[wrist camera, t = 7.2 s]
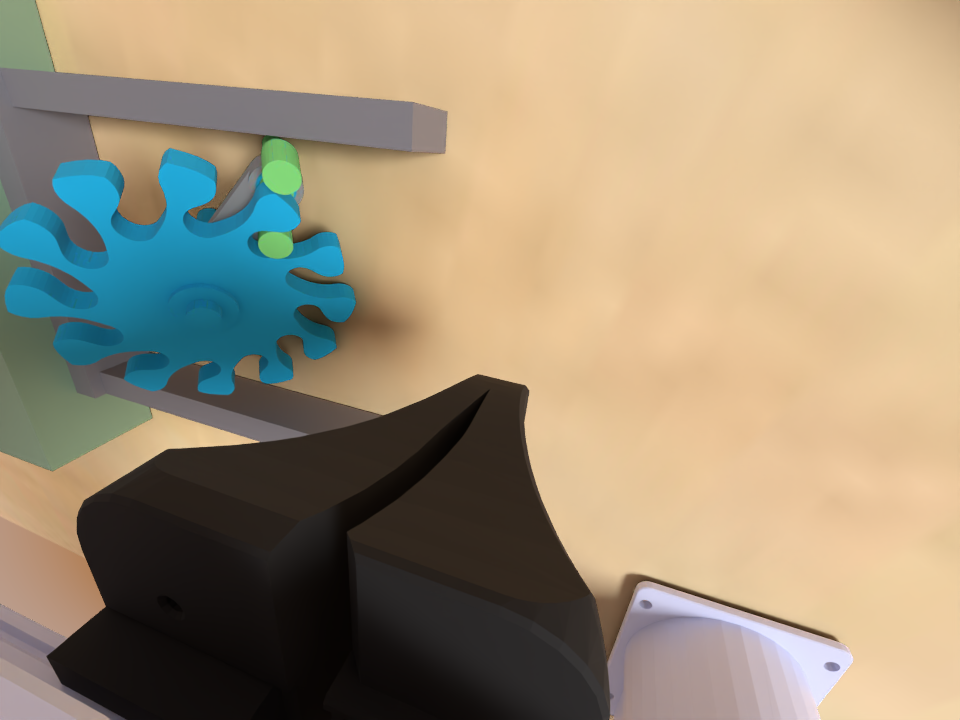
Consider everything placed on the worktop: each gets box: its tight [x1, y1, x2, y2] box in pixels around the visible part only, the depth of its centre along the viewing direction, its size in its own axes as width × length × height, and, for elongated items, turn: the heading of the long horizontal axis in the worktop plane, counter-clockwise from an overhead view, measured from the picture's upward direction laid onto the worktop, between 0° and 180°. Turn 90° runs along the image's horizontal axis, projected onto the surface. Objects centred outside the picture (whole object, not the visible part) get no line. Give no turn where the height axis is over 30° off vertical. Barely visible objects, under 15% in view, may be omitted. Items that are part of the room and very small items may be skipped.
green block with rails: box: [0, 0, 447, 471], centre depth 18 cm, size 20×29×6 cm
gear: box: [0, 135, 356, 395], centre depth 16 cm, size 11×6×10 cm
